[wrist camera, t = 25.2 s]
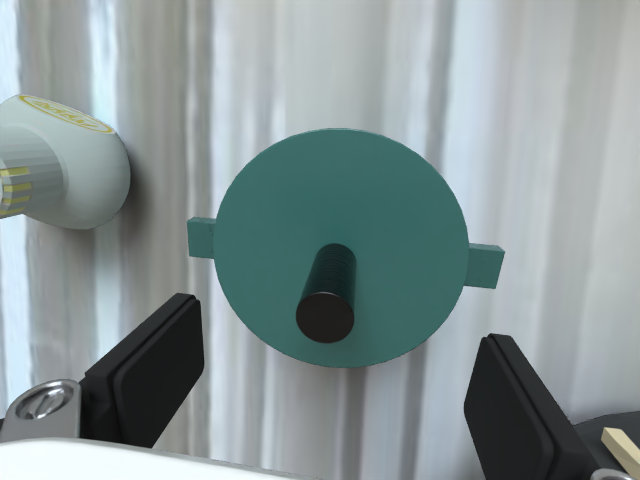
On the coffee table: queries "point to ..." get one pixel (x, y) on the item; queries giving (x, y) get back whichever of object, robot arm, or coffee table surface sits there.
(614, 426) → the bowl
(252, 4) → the coffee table surface
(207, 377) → the coffee table surface
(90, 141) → the air freshener
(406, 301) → the lid
